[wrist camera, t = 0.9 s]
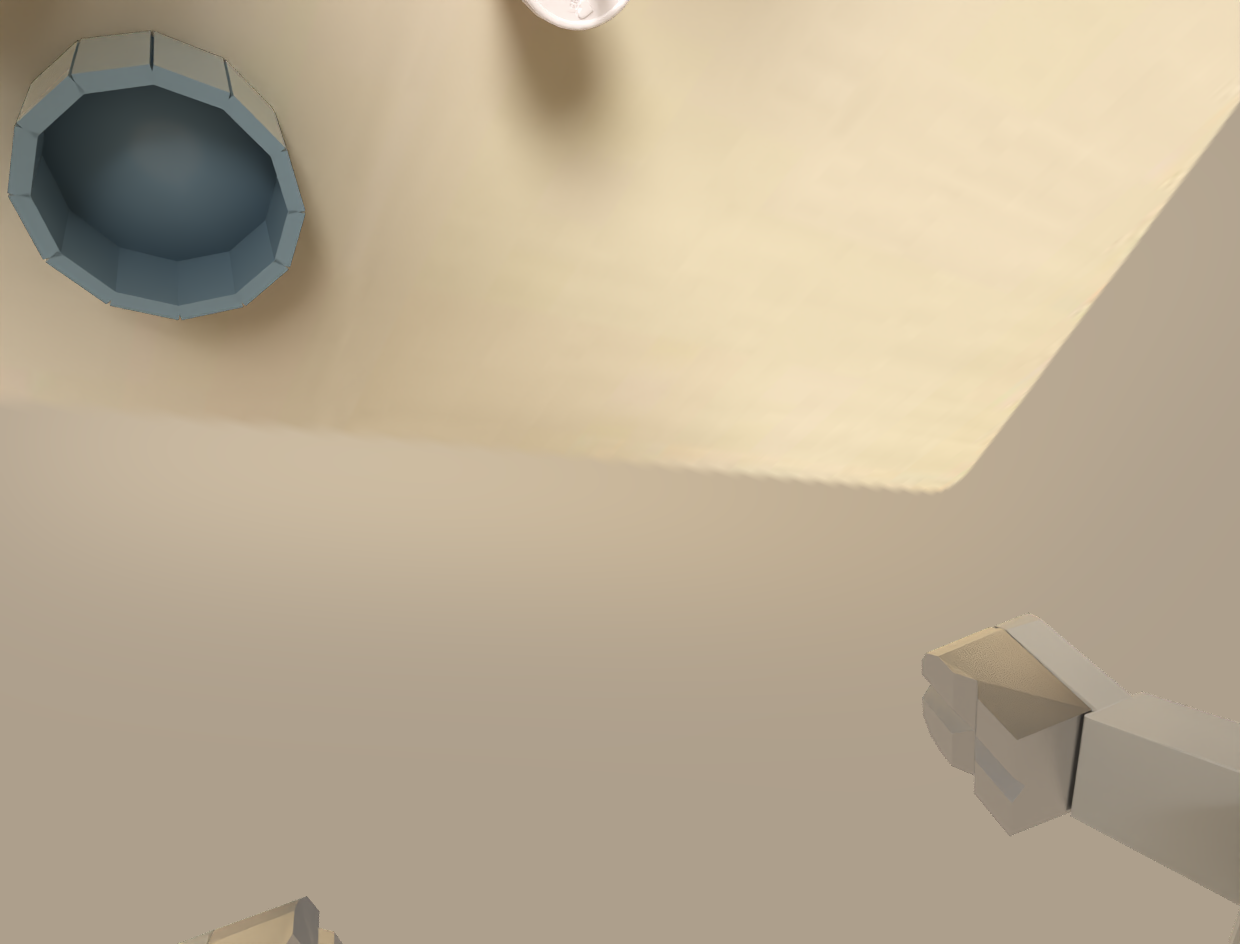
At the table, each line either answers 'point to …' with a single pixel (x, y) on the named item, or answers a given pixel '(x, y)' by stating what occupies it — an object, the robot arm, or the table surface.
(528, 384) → the table surface
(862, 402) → the table surface
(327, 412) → the table surface
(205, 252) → the bowl
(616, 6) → the smoothie
